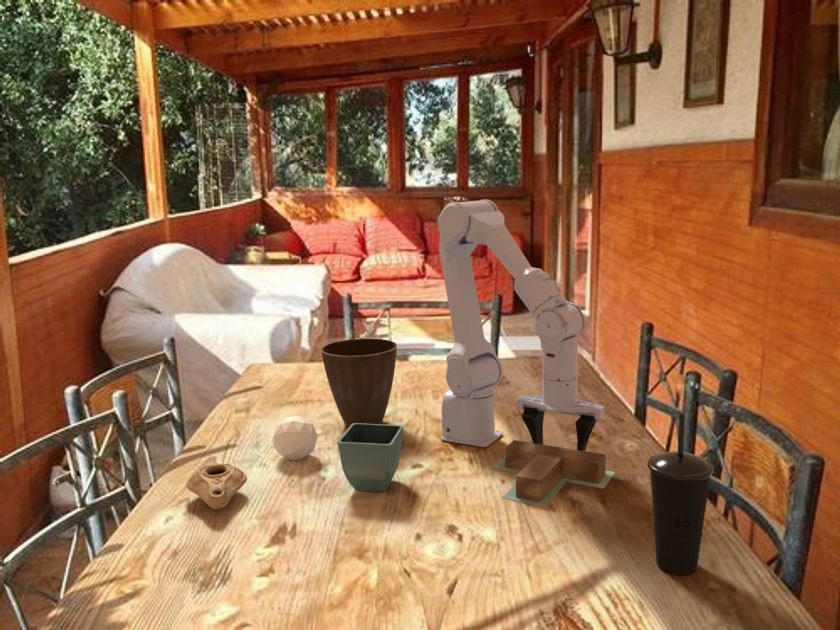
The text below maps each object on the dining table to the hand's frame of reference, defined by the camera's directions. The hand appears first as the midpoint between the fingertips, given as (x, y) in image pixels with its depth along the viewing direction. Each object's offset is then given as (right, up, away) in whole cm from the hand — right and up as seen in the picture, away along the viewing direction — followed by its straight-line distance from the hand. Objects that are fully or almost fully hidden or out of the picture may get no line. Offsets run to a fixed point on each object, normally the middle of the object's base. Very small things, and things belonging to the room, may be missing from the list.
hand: (559, 453), depth 127 cm
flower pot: (-31, -4, -6) cm, 32 cm away
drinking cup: (+9, -8, -33) cm, 35 cm away
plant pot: (-35, +2, +23) cm, 42 cm away
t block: (-4, -3, -7) cm, 9 cm away
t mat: (-4, -3, -7) cm, 8 cm away
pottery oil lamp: (-56, -6, -10) cm, 57 cm away
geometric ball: (-46, -2, +7) cm, 46 cm away
